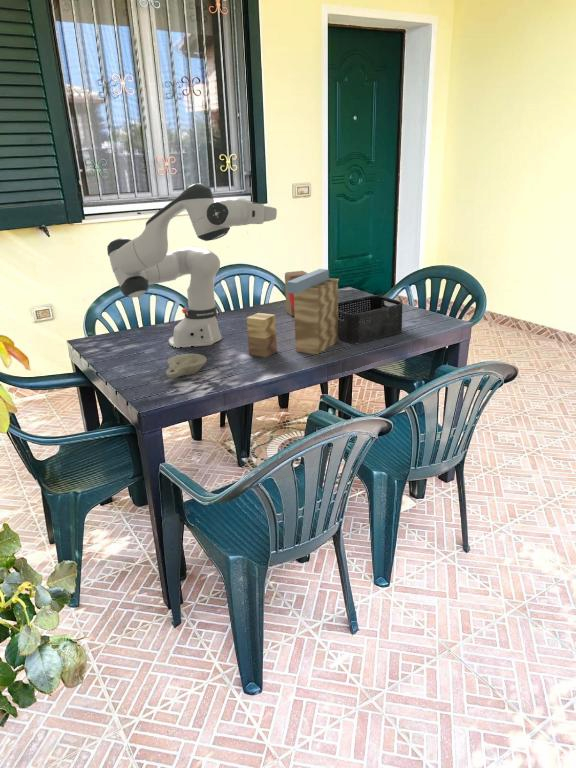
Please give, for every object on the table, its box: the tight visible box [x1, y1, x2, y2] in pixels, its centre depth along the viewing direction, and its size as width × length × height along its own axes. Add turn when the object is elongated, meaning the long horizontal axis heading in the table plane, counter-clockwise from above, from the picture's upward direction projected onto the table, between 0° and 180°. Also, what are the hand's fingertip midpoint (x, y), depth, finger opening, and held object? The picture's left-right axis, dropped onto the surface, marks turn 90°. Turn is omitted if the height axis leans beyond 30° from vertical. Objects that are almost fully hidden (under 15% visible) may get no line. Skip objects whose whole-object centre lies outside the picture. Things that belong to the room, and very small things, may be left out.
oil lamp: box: [165, 353, 208, 379], centre depth 208 cm, size 21×14×5 cm
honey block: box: [246, 312, 277, 339], centre depth 224 cm, size 8×8×8 cm
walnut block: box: [247, 332, 278, 358], centre depth 227 cm, size 8×8×8 cm
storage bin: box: [338, 295, 403, 345], centre depth 244 cm, size 29×19×13 cm
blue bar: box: [287, 268, 330, 294], centre depth 218 cm, size 26×4×4 cm, turn 150°
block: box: [284, 270, 309, 318], centre depth 278 cm, size 10×10×20 cm
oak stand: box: [294, 277, 340, 355], centre depth 229 cm, size 19×11×26 cm, turn 150°
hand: (257, 210), depth 207 cm, fingers open, 8 cm apart
